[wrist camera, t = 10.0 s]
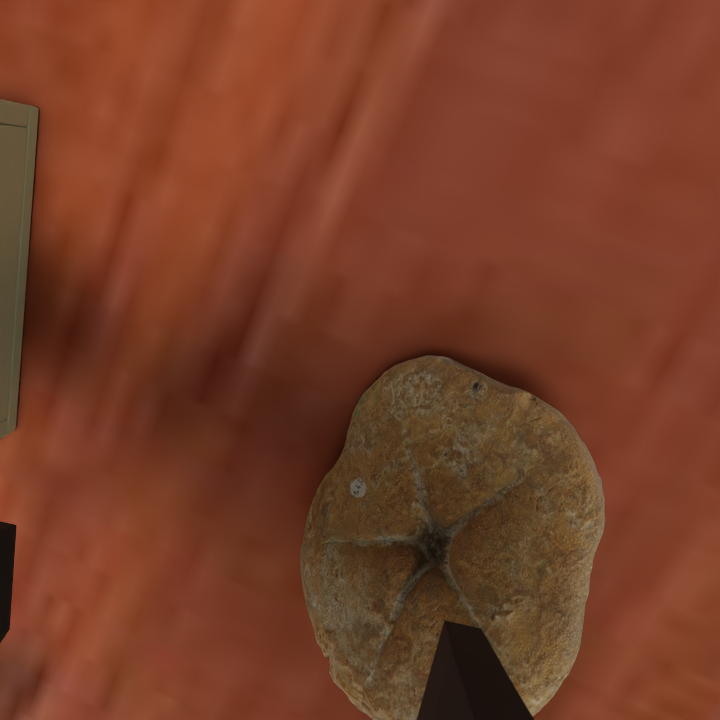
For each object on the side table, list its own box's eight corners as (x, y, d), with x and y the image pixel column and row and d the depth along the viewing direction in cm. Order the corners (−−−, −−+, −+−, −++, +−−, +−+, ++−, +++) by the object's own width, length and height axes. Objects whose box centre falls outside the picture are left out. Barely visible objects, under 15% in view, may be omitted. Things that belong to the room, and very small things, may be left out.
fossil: (649, 429, 14) (491, 849, 15) (698, 444, 17) (567, 786, 18) (357, 325, 20) (253, 627, 20) (435, 351, 23) (343, 611, 24)
